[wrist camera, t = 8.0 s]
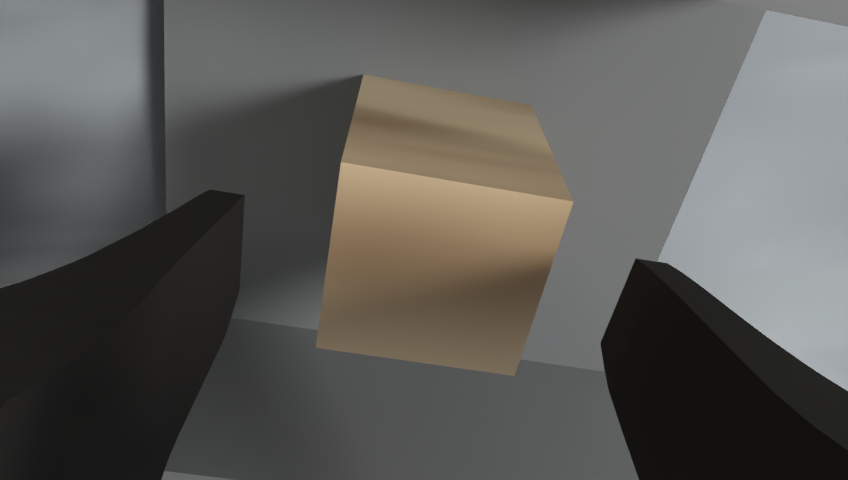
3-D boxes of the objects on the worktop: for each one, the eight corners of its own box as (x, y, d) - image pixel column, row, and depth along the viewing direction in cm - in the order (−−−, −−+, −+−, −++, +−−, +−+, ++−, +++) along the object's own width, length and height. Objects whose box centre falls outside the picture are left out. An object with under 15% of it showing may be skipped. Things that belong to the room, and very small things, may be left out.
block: (491, 247, 18) (513, 376, 13) (341, 223, 17) (315, 348, 13) (531, 105, 16) (573, 201, 11) (363, 74, 15) (340, 161, 11)
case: (593, 382, 21) (650, 558, 16) (173, 323, 20) (84, 492, 14) (785, -69, 14) (993, -25, 9) (171, -204, 13) (7, -240, 8)
